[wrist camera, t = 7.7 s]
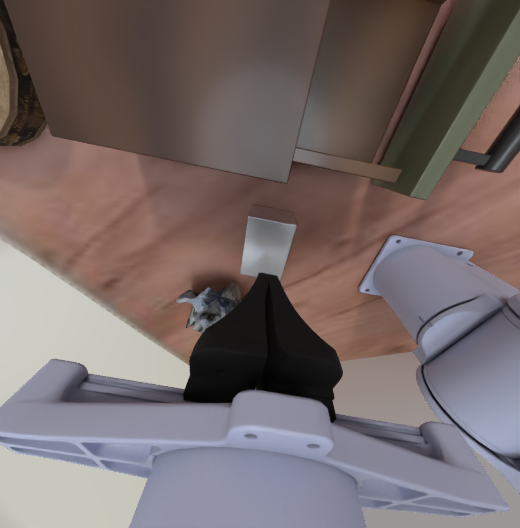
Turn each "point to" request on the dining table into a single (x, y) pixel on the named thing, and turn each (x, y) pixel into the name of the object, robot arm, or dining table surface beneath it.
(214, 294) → the foil
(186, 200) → the dining table surface
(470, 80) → the drawer
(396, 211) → the dining table surface
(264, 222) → the silver metal block
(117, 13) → the cabinet
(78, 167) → the dining table surface
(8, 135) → the round wooden board
